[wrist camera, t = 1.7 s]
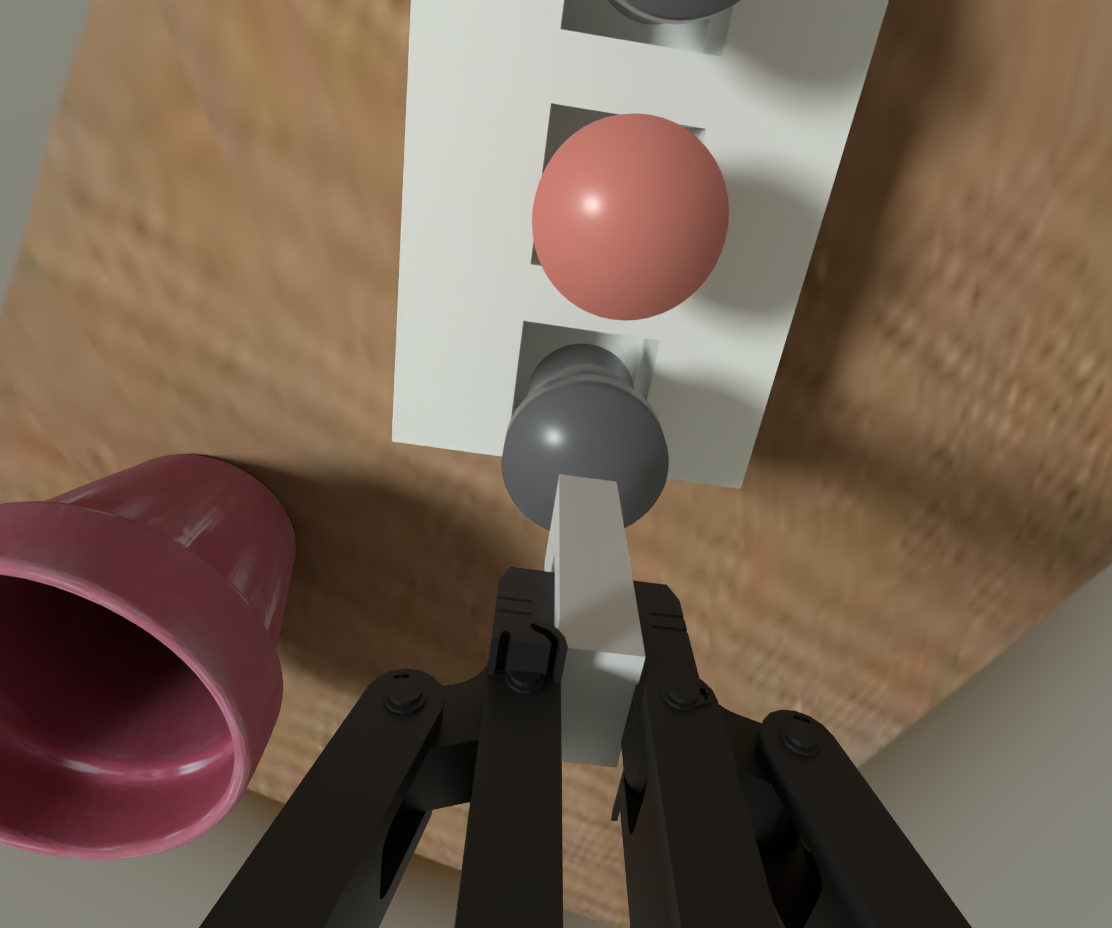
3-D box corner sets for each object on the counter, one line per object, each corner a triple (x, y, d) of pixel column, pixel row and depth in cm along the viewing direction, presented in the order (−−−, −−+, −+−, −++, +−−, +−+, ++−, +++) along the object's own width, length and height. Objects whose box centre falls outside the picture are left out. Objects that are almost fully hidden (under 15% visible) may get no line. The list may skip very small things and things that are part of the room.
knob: (659, 340, 25) (685, 400, 20) (633, 462, 27) (649, 546, 22) (523, 320, 25) (511, 376, 19) (507, 445, 27) (493, 526, 22)
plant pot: (407, 551, 35) (332, 759, 24) (232, 681, 39) (96, 911, 28) (178, 340, 30) (-54, 473, 19) (6, 513, 35) (-271, 708, 23)
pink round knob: (706, 129, 22) (752, 131, 17) (672, 285, 24) (702, 332, 19) (550, 103, 22) (546, 97, 16) (530, 264, 24) (520, 306, 19)
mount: (862, -95, 23) (933, -147, 19) (716, 437, 32) (740, 488, 28) (450, -172, 23) (421, -245, 18) (416, 395, 31) (391, 441, 27)
